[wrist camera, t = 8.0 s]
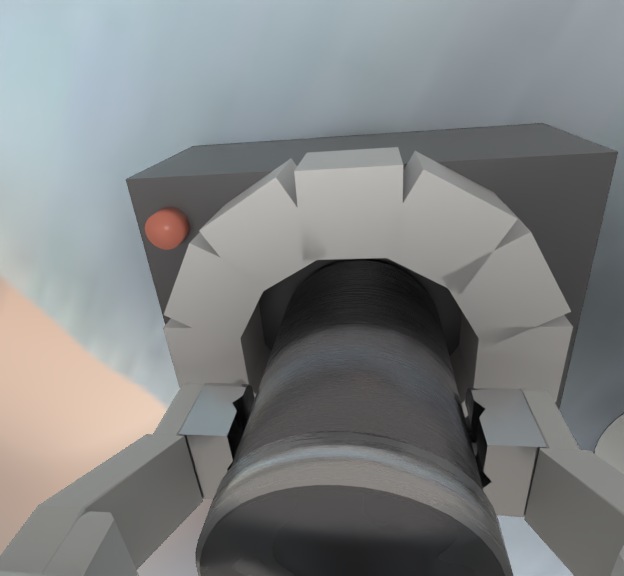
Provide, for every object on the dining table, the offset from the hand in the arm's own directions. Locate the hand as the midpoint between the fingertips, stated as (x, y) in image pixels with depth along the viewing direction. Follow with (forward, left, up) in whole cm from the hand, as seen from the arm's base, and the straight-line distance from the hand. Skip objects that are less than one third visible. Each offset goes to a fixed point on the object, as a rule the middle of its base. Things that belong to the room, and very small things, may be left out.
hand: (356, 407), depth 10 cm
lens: (0, 0, -3) cm, 3 cm away
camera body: (0, 0, -9) cm, 9 cm away
